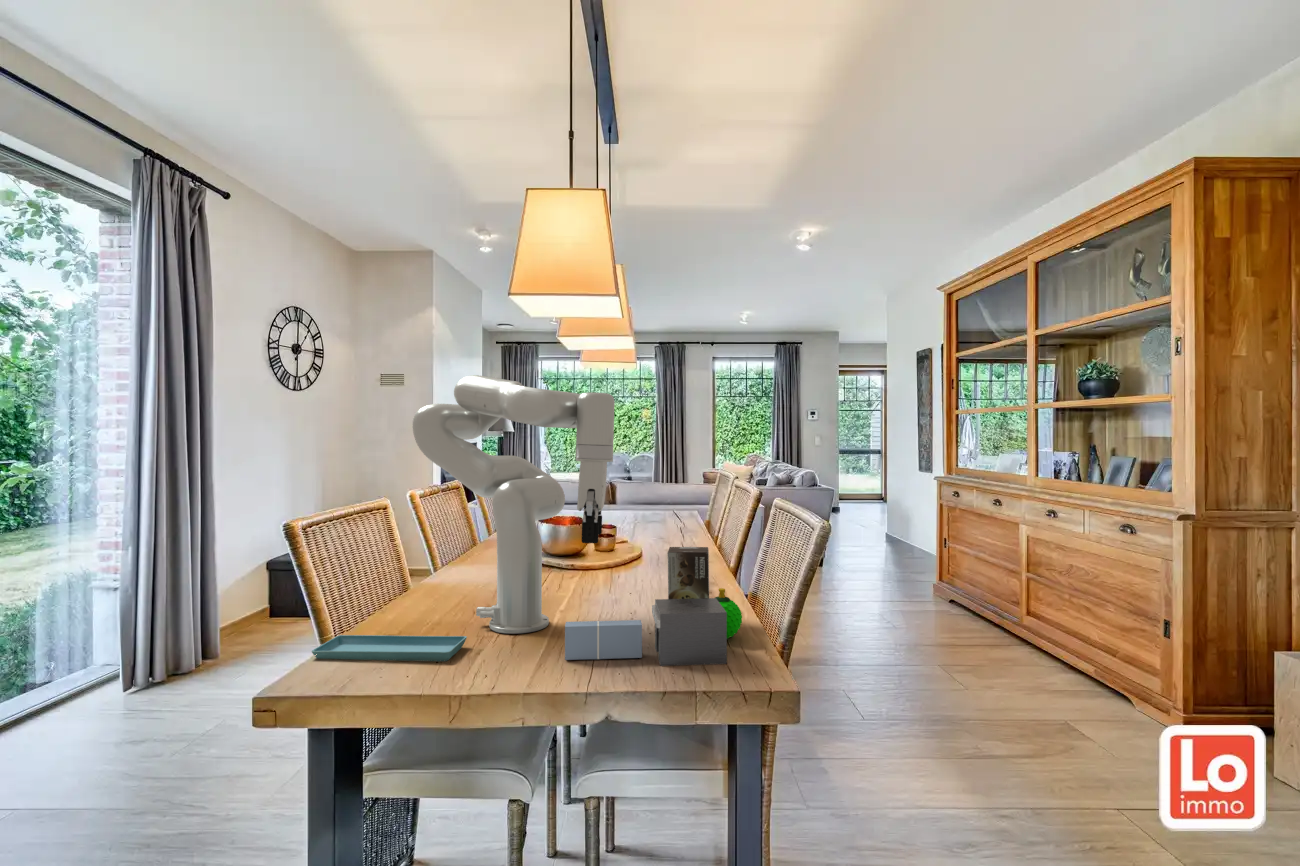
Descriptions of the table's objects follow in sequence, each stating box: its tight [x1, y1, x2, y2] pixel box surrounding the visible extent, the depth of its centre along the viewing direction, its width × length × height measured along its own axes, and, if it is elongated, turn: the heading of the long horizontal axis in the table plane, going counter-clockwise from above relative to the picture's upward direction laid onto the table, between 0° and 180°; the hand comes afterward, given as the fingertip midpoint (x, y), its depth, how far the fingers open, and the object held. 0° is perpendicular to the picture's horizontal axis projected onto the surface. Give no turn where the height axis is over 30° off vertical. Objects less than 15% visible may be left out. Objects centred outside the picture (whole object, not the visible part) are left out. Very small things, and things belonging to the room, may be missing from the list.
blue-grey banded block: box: [564, 619, 643, 661], centre depth 113 cm, size 14×3×6 cm, turn 95°
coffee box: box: [667, 546, 710, 599], centre depth 135 cm, size 9×6×16 cm
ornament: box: [714, 587, 743, 640], centre depth 124 cm, size 8×8×10 cm
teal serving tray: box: [311, 634, 468, 662], centre depth 115 cm, size 26×9×2 cm, turn 86°
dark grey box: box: [651, 597, 728, 667], centre depth 114 cm, size 13×10×9 cm
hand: (591, 538), depth 124 cm, fingers open, 9 cm apart
